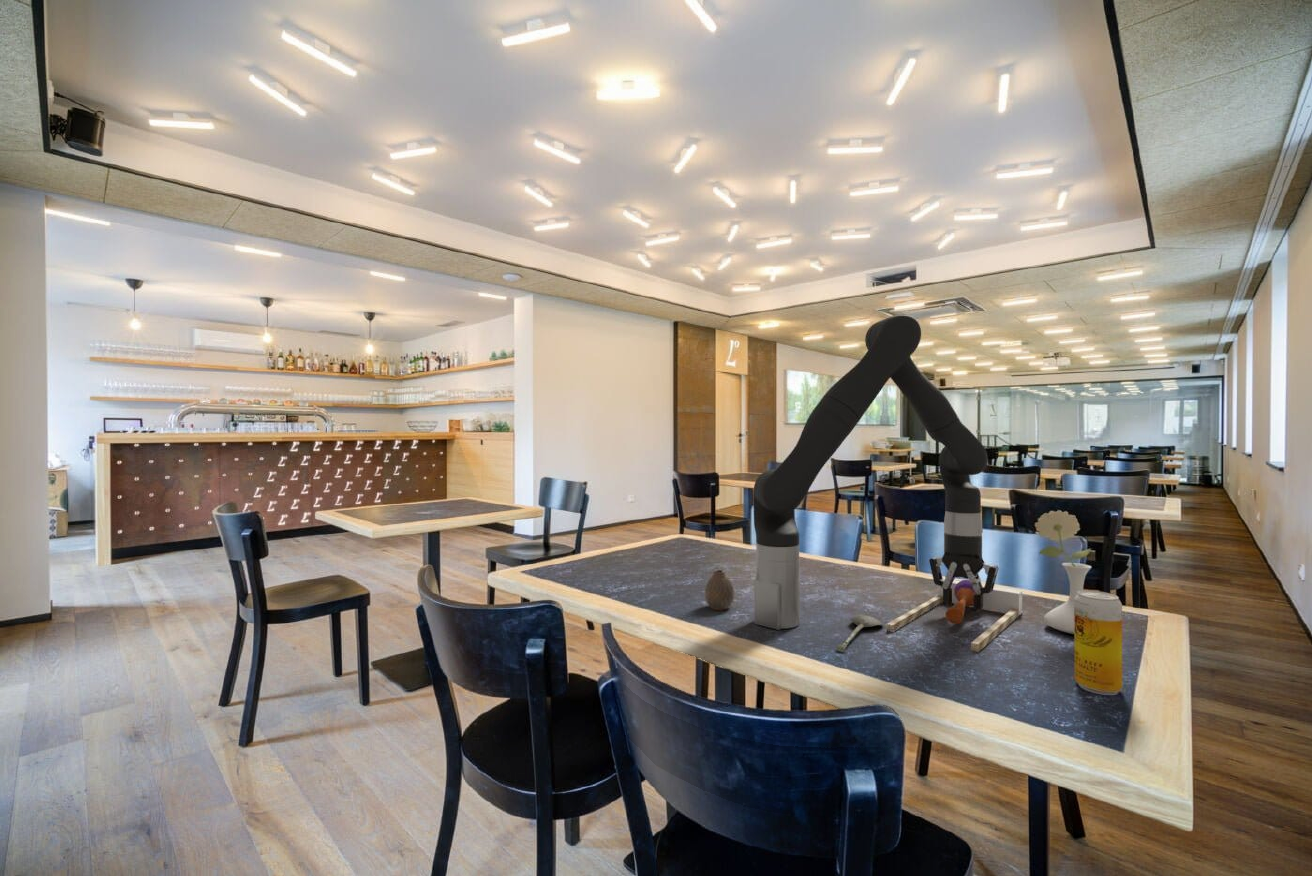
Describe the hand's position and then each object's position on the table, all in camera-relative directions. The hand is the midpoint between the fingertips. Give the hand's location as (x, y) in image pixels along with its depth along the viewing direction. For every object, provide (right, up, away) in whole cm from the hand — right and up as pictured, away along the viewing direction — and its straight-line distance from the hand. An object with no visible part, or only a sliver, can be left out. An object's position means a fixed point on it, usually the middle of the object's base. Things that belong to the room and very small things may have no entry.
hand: (962, 607), depth 129 cm
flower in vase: (+18, -3, -9) cm, 20 cm away
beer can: (+2, -2, -37) cm, 37 cm away
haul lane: (-4, -2, -4) cm, 6 cm away
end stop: (+8, -2, +8) cm, 12 cm away
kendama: (0, -1, 0) cm, 1 cm away
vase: (-54, -3, +8) cm, 54 cm away
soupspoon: (-28, -3, -11) cm, 30 cm away
